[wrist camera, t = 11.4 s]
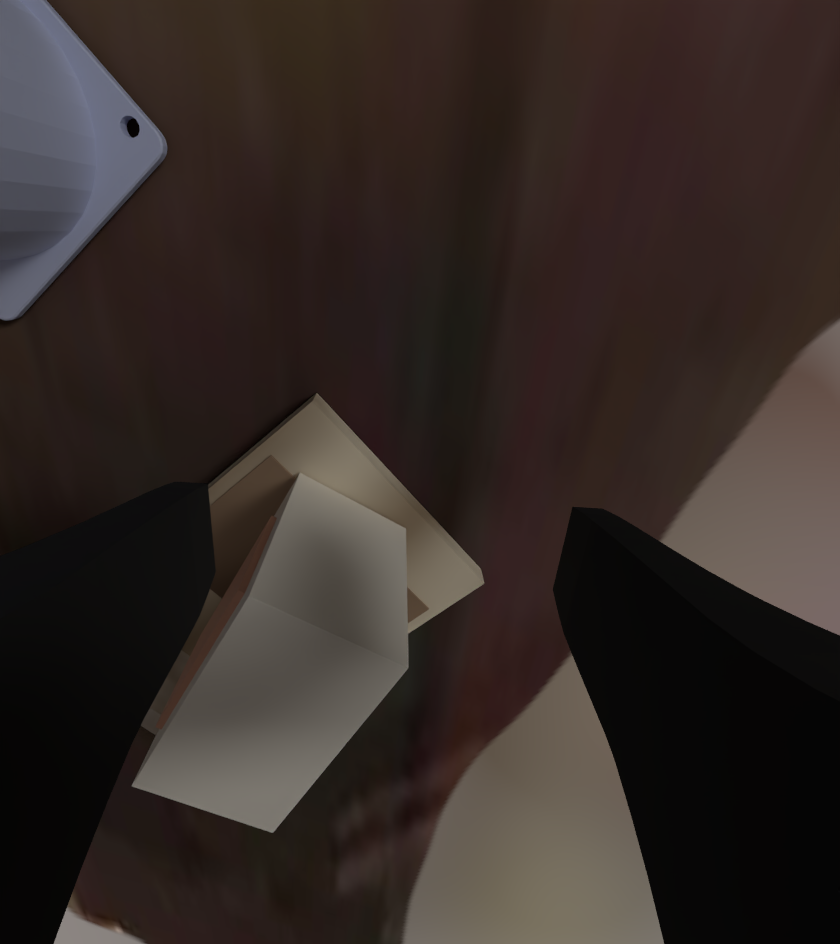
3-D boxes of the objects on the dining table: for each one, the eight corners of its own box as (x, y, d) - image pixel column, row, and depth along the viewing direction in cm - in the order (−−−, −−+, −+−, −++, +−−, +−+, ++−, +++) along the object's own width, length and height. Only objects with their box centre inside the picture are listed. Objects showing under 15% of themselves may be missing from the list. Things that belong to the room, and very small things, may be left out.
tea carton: (206, 620, 22) (124, 784, 15) (295, 469, 19) (241, 592, 12) (308, 664, 23) (272, 833, 16) (406, 528, 20) (408, 667, 14)
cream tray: (88, 585, 22) (27, 656, 18) (316, 392, 19) (296, 432, 15) (263, 713, 25) (240, 794, 22) (480, 569, 22) (496, 635, 19)
